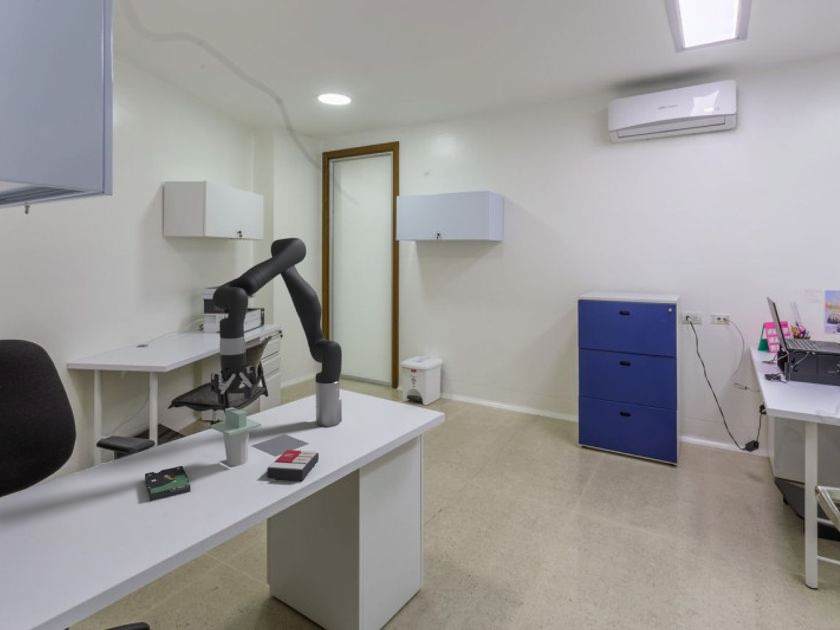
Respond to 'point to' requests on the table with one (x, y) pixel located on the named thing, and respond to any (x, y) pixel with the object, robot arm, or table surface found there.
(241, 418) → the cover
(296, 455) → the red white black box
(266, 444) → the mat
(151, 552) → the table surface
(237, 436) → the cup
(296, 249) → the robot arm
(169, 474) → the disk drive
